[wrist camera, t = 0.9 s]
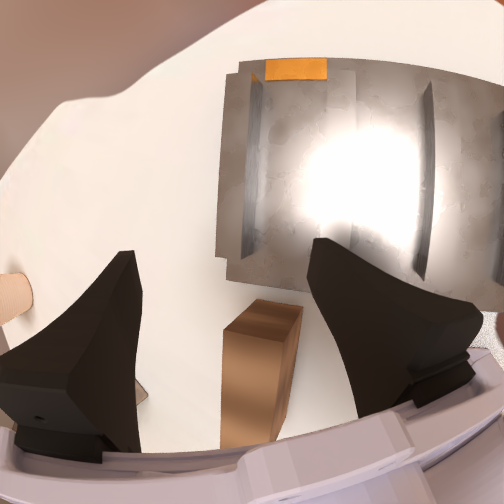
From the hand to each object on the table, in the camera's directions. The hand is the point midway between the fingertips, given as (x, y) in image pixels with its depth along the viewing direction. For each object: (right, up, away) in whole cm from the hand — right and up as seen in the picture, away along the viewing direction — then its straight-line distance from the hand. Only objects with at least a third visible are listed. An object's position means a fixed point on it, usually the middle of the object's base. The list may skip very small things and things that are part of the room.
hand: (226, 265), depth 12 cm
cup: (-37, -6, +27) cm, 46 cm away
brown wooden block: (+3, -10, +14) cm, 17 cm away
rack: (+11, +6, +8) cm, 16 cm away
